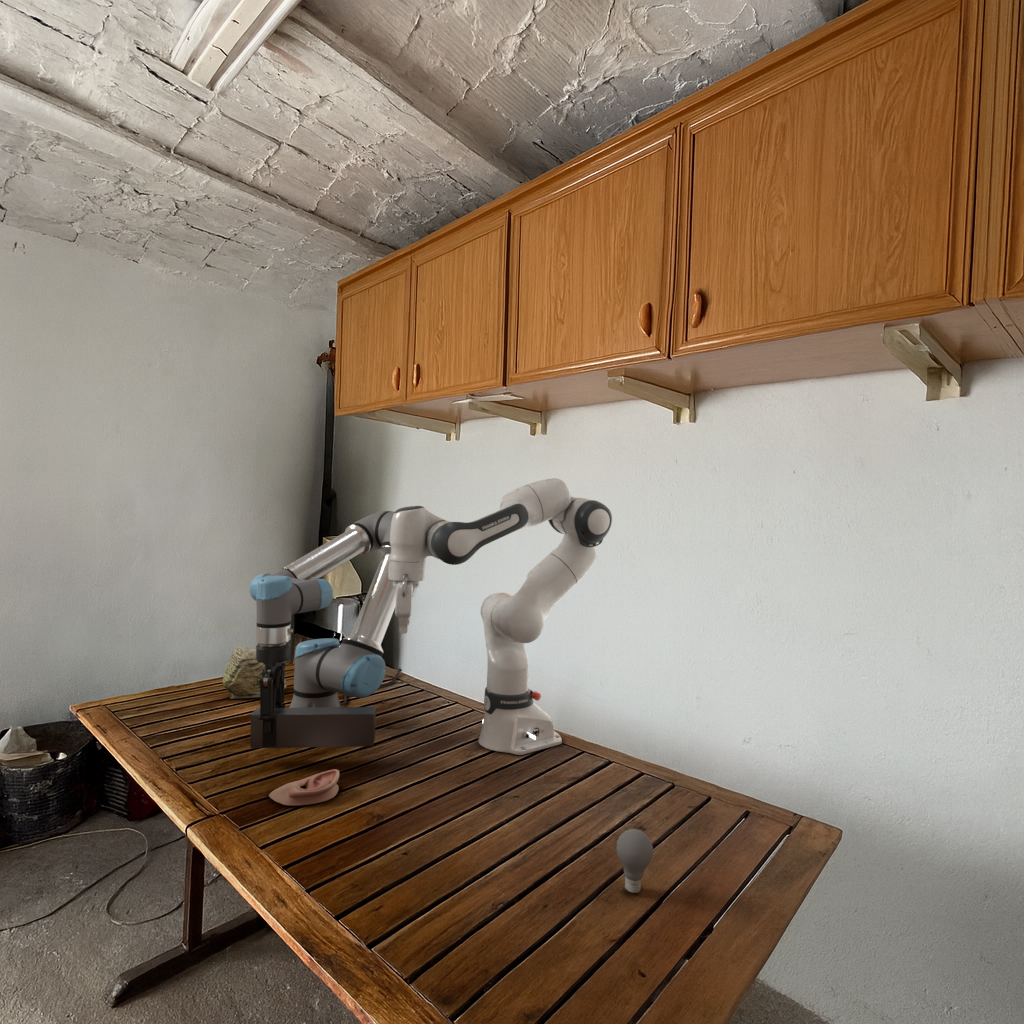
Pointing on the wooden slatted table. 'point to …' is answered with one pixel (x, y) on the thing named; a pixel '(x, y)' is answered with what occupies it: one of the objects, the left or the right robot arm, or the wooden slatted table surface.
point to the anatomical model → (308, 789)
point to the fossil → (243, 674)
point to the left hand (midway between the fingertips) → (272, 741)
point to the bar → (318, 727)
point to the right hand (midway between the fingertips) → (404, 628)
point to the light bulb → (634, 857)
